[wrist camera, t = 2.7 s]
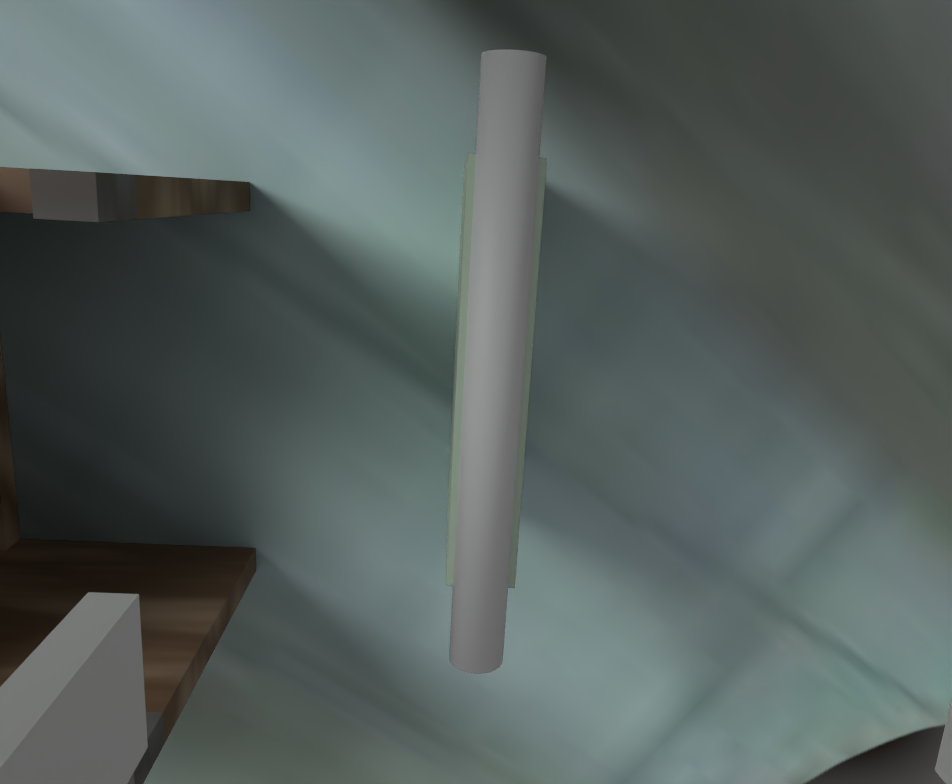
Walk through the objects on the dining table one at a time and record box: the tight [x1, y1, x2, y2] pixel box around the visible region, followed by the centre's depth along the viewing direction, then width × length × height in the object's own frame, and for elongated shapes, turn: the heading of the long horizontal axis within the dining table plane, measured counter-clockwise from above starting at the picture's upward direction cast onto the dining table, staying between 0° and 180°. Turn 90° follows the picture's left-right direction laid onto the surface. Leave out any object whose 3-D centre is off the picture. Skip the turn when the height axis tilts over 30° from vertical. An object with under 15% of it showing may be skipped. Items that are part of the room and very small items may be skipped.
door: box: [446, 49, 547, 674], centre depth 37 cm, size 25×4×14 cm, turn 177°
